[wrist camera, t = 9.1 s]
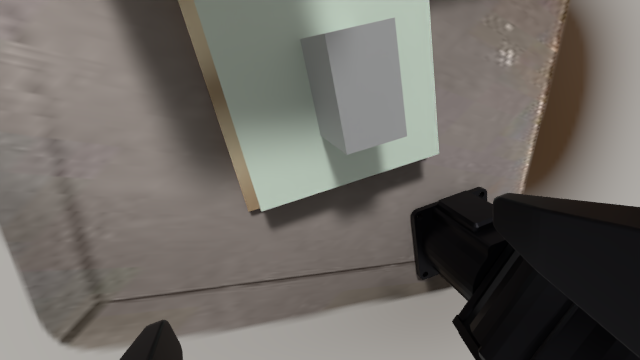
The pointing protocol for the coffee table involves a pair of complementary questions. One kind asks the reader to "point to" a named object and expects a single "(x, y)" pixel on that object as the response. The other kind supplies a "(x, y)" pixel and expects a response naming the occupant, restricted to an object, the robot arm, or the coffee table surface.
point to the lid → (324, 88)
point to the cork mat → (218, 101)
